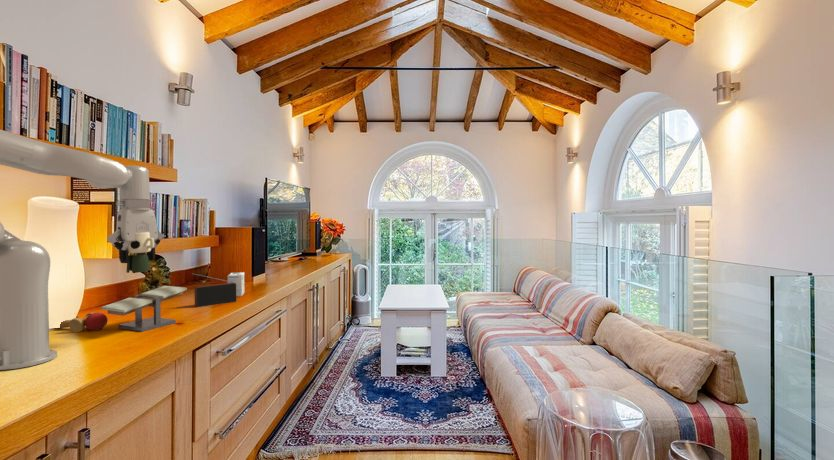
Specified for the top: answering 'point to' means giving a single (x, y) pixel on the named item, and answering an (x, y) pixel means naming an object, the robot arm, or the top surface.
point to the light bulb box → (237, 282)
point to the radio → (215, 294)
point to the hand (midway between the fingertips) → (138, 261)
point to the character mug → (139, 253)
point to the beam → (143, 300)
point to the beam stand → (147, 319)
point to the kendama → (86, 322)
